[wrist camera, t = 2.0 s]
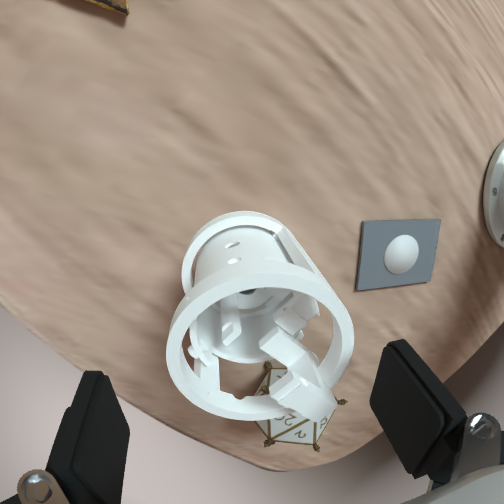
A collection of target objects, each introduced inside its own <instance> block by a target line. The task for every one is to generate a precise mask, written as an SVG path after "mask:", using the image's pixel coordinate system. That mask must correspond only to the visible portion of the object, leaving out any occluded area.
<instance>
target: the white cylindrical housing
mask: <svg viewBox="0 0 504 504" xmlns="http://www.w3.org/2000/svg"><path fill="white" fill-rule="evenodd" d="M259 226H260V227H259ZM262 227H264V228H262ZM265 228H267V229H269V230H270V231H269V230H267V229H265ZM206 240H207V242H206V243H205V244H204V242H205V241H206ZM203 244H204V245H203ZM202 245H203V247H202V249H201V251H200V253H199V255H198V259H197V264H196V272H195V281H193V277H192V262H193V260H194V257H195V255H196V253H197V251H198V250H199V248H200V247H201V246H202ZM182 285H183V289H184V292H185V296H184V298H183V299H182V300H181V302H180V303H179V305H178V307H177V309H176V311H175V313H174V315H173V318H172V321H171V325H170V330H169V335H168V341H167V347H166V361H167V366H168V370H169V373H170V376H171V378H172V380H173V382H174V383H175V385H176V386H177V388H178V389H179V390H180V392H181V393H182V394H183V395H184V396H185V397H186V398H187V399H188V400H190V401H191V402H192V403H193V404H195V405H196V406H198V407H200V408H201V409H203V410H205V411H207V412H210V413H212V414H215V415H218V416H221V417H225V418H229V419H235V420H245V421H256V420H267V419H273V418H278V417H282V416H285V415H289V414H291V413H294V412H299V413H301V414H302V416H304V417H306V418H308V419H310V420H312V421H314V422H315V423H316V422H318V421H320V420H321V419H323V418H324V417H325V416H327V415H328V414H330V413H331V412H332V411H334V410H335V409H336V408H337V407H338V404H337V402H336V400H335V397H334V395H333V393H332V390H331V388H332V387H333V386H334V385H335V384H336V383H337V382H338V380H339V379H340V378H341V376H342V375H343V373H344V372H345V370H346V368H347V366H348V364H349V361H350V359H351V356H352V352H353V347H354V329H353V324H352V321H351V318H350V316H349V313H348V312H347V310H346V308H345V307H344V305H343V304H342V302H341V301H340V299H339V298H338V297H337V295H336V294H335V292H334V291H333V290H332V288H331V287H330V285H329V284H328V283H327V281H326V280H325V278H324V277H323V276H322V274H321V273H320V271H319V270H318V269H317V267H316V266H315V264H314V263H313V262H312V260H311V259H310V258H309V256H308V255H307V254H306V252H305V251H304V249H303V248H302V247H301V245H300V244H299V243H298V241H297V240H296V239H295V237H294V236H293V235H292V233H291V232H290V231H289V230H288V229H287V228H286V227H285V226H284V225H283V224H282V223H281V222H279V221H278V220H276V219H274V218H272V217H270V216H268V215H265V214H262V213H258V212H252V211H237V212H231V213H227V214H224V215H221V216H219V217H216V218H215V219H213V220H211V221H209V222H208V223H207V224H205V225H204V226H203V227H202V228H201V229H200V230H199V231H198V232H197V233H196V234H195V235H194V237H193V238H192V240H191V241H190V243H189V245H188V247H187V250H186V253H185V257H184V261H183V266H182ZM316 299H317V300H318V301H320V302H321V303H323V304H324V305H325V306H326V307H327V308H328V309H329V310H330V312H331V315H332V319H333V338H332V342H331V346H330V348H329V351H328V353H327V355H326V357H325V358H324V360H323V361H322V363H321V364H320V363H319V361H318V358H317V356H316V354H314V353H313V352H312V351H310V350H309V349H308V348H306V347H305V346H304V345H302V344H301V343H300V342H299V341H300V340H301V339H302V338H303V336H304V334H303V332H302V330H301V329H302V328H303V327H305V326H306V325H307V324H308V321H309V320H310V319H311V318H312V317H313V316H315V315H316V314H317V315H319V308H318V304H317V301H316ZM189 326H190V339H191V343H192V345H191V346H189V347H188V352H189V354H190V355H191V356H192V357H193V358H195V359H194V372H193V371H192V369H191V368H190V366H189V365H188V363H187V361H186V359H185V356H184V353H183V349H182V340H183V337H184V335H185V333H186V331H187V329H188V328H189ZM218 356H219V357H221V358H223V359H226V360H229V361H233V362H238V363H258V362H264V361H268V360H271V359H274V358H275V359H276V360H278V361H279V362H281V363H282V364H284V365H285V366H287V369H288V373H287V374H285V375H284V376H283V377H282V378H280V379H279V380H278V381H277V382H275V383H274V384H273V385H271V386H270V387H269V392H270V394H269V395H262V396H246V397H244V398H243V399H242V400H239V399H236V398H235V397H234V396H233V394H229V393H226V392H223V391H220V383H219V361H218Z"/></svg>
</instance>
